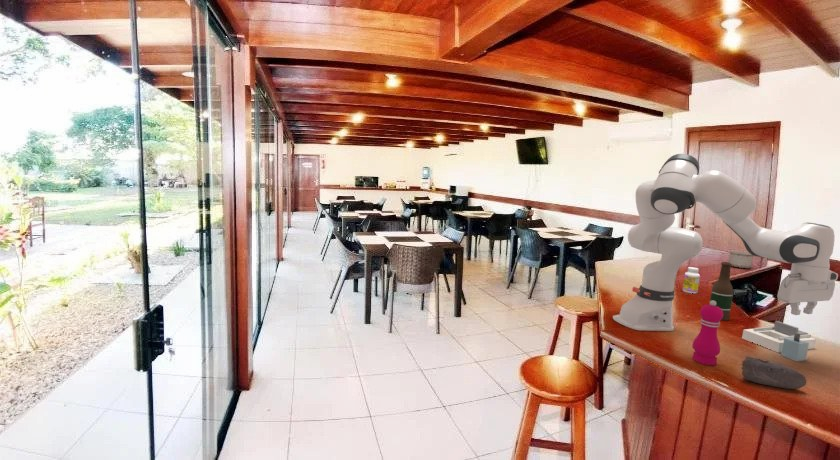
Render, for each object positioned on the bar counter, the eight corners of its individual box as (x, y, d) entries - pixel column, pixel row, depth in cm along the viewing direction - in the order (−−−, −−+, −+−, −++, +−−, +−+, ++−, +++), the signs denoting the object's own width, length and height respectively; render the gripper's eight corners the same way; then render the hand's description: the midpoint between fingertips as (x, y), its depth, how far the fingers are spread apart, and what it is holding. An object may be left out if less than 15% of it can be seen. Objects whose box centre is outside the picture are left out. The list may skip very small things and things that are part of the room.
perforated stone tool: (801, 388, 116) (805, 365, 115) (808, 397, 111) (813, 373, 110) (735, 374, 123) (739, 352, 122) (740, 382, 118) (743, 359, 117)
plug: (796, 361, 134) (800, 336, 133) (781, 355, 138) (785, 331, 137) (805, 360, 135) (810, 335, 134) (790, 354, 139) (794, 330, 138)
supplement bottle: (679, 290, 216) (682, 266, 214) (688, 289, 218) (692, 266, 216) (690, 294, 209) (694, 269, 207) (700, 293, 211) (704, 269, 209)
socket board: (777, 352, 140) (780, 340, 139) (742, 338, 151) (743, 326, 151) (814, 348, 145) (816, 336, 144) (776, 335, 156) (778, 324, 156)
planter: (749, 270, 276) (752, 255, 274) (726, 267, 284) (729, 252, 283) (751, 267, 285) (754, 253, 283) (729, 264, 293) (731, 250, 292)
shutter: (794, 336, 145) (796, 328, 145) (773, 329, 152) (775, 321, 151) (807, 335, 147) (809, 326, 147) (786, 328, 154) (788, 320, 153)
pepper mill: (706, 356, 135) (716, 297, 132) (723, 366, 127) (733, 304, 125) (685, 355, 134) (694, 296, 131) (701, 365, 127) (710, 303, 124)
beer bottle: (733, 321, 170) (742, 265, 166) (712, 319, 171) (721, 263, 168) (723, 315, 177) (732, 261, 174) (703, 313, 179) (711, 259, 175)
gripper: (797, 276, 127) (789, 319, 129) (842, 274, 132) (834, 315, 134) (775, 271, 133) (768, 312, 135) (818, 270, 138) (811, 309, 140)
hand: (801, 314), depth 134 cm, fingers open, 4 cm apart
